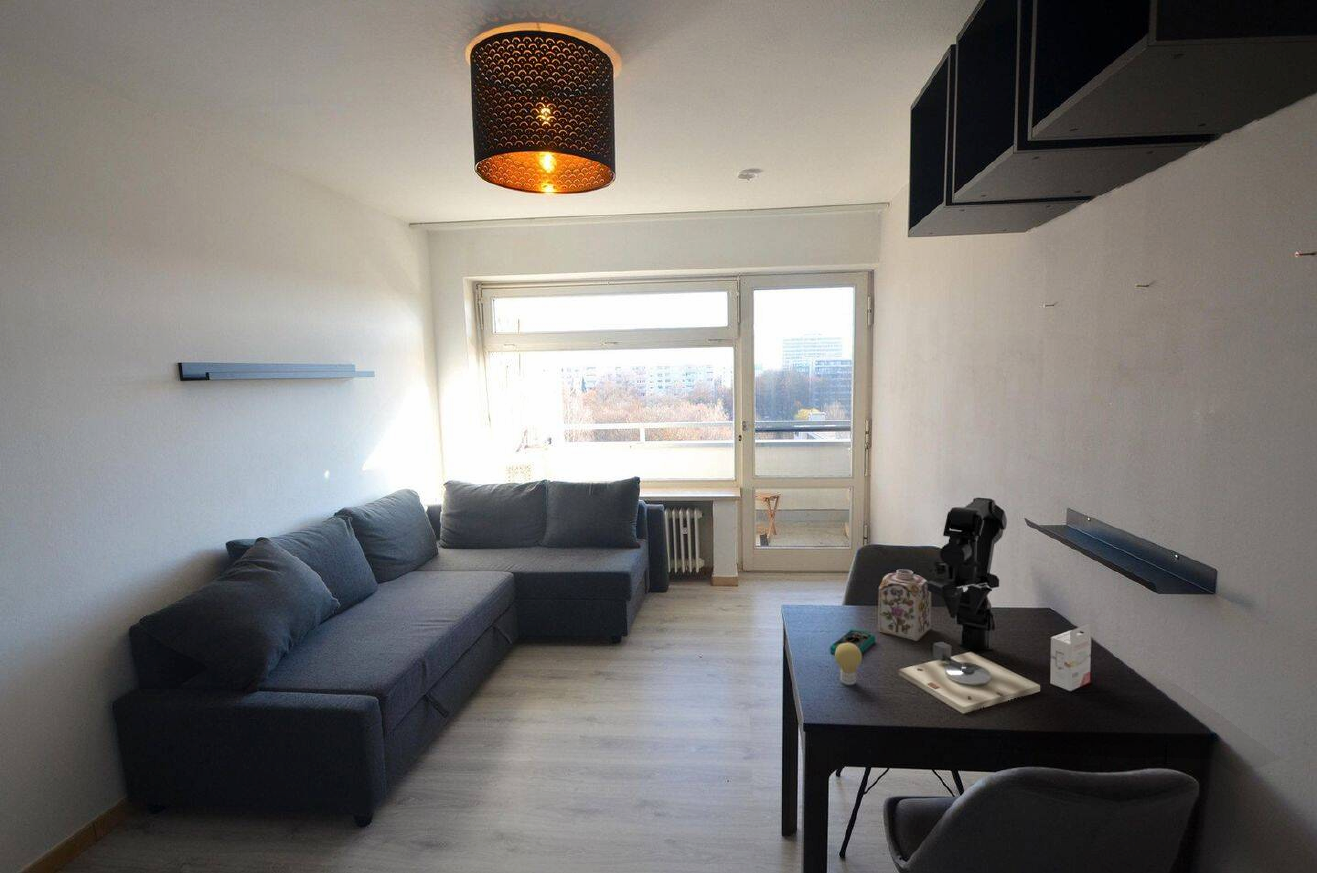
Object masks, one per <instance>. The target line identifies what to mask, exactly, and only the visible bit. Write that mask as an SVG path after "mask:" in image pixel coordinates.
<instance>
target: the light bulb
mask: <svg viewBox="0 0 1317 873" xmlns="http://www.w3.org/2000/svg"><path fill="white" fill-rule="evenodd" d="M862 654H863V653H861V651H860V650H859V648H858V647H857V646H856V645H854V644H852V643H842V644H840V645H839V646H838V647H837V648H836V651H835V654H834V658H835V659H834V660H835V661H836V663H837V665H838V666H839V667H840V674H839V675H840V682H841V683H843V684H844V685H846V686H853V685H855V684H856V683H857V669H858V668H859V667H860V665H861V663H862V660H863V656H862Z"/></svg>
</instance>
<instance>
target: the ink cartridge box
mask: <svg viewBox="0 0 1317 873" xmlns="http://www.w3.org/2000/svg"><path fill="white" fill-rule="evenodd" d="M1081 632H1083V633H1081ZM1091 652H1092V634H1091V625H1090V624H1086V625H1084V626H1080V627H1077V628H1074V629H1073V630H1067V631H1065V632H1062V633H1060V634H1057V635H1054V636H1051V637H1050V681H1049V682H1050V684H1051V685H1053V686H1056V687H1059V688H1062V689H1063V690H1066V691H1069V692H1072V691H1074V690H1076V689H1078V688H1080V687H1082V686H1085V685H1087V684H1089V683H1090V682H1091V659H1092V657H1091V654H1092V653H1091Z"/></svg>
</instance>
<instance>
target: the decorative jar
mask: <svg viewBox="0 0 1317 873" xmlns="http://www.w3.org/2000/svg"><path fill="white" fill-rule="evenodd" d="M928 582H929V581H928V580H927V579H926V578H924V577H922V576H921V575H918V574H914V572H913V571H912V570H910V569H906V568H905V569H897V570H896V572H891V573H888V574H885V575H884V576H883V578H882V580H881V582H880V585H879V587H878V607H877V608H878V609H877V610H878V616H877V617H878V618H877V619H878V624H877V625H878V631H879V633H883V634H888V635H890V634H891V636H894V635H895V637H899V638H903V639H906V638H907V639H906V640H911V641H914V642H918V641H919V640H920V639H921V638H922V637H923V636H924V635H925V634H926V633H927V632H928V631H930V629H931V624H932V592H930V591H928Z"/></svg>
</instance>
